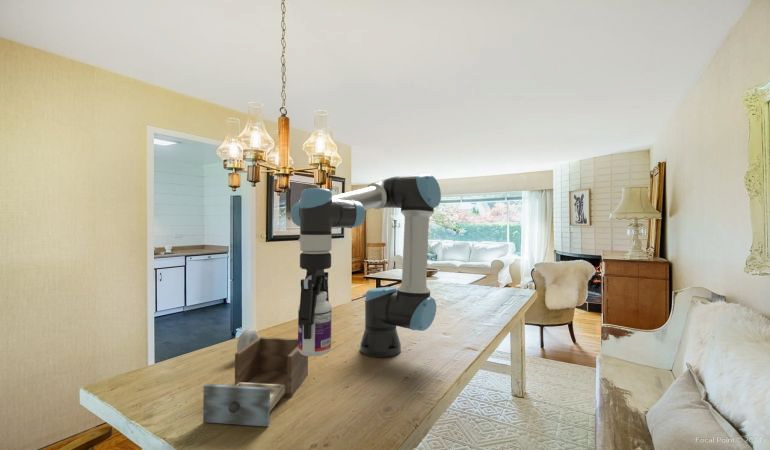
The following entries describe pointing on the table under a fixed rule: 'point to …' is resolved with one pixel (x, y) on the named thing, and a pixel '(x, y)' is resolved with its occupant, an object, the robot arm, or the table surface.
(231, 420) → the grey drawer
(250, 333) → the donut
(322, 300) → the pill bottle
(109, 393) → the table surface
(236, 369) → the wooden drawer box
